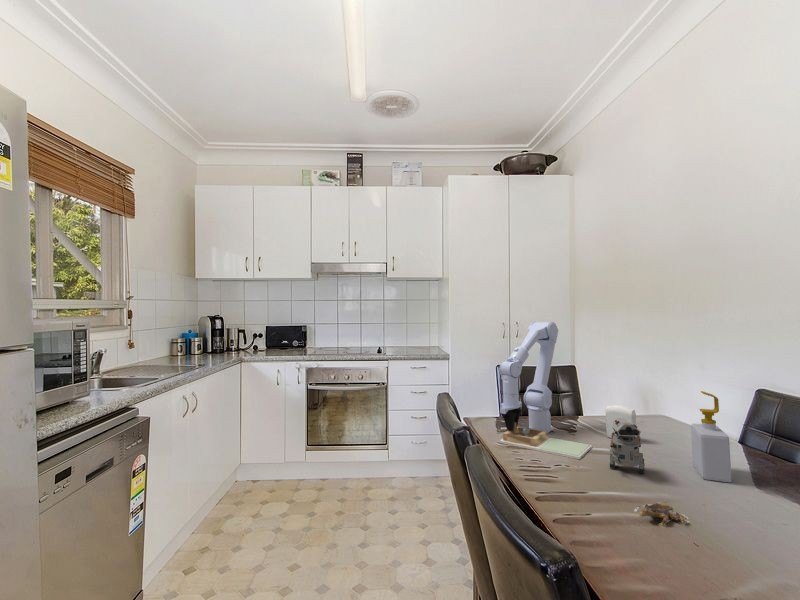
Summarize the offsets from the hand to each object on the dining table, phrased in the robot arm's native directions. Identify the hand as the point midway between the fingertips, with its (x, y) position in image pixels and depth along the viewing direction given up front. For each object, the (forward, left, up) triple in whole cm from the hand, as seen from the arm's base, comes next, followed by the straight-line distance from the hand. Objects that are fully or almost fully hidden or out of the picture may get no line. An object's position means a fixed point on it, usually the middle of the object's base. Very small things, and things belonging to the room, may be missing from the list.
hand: (511, 429), depth 151 cm
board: (0, +12, -4) cm, 13 cm away
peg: (0, +5, -3) cm, 6 cm away
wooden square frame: (0, +5, -3) cm, 6 cm away
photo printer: (-23, +32, -4) cm, 40 cm away
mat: (0, +19, -3) cm, 19 cm away
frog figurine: (+33, +52, -4) cm, 62 cm away
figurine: (+9, +40, -4) cm, 41 cm away
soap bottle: (-4, +59, -4) cm, 60 cm away
